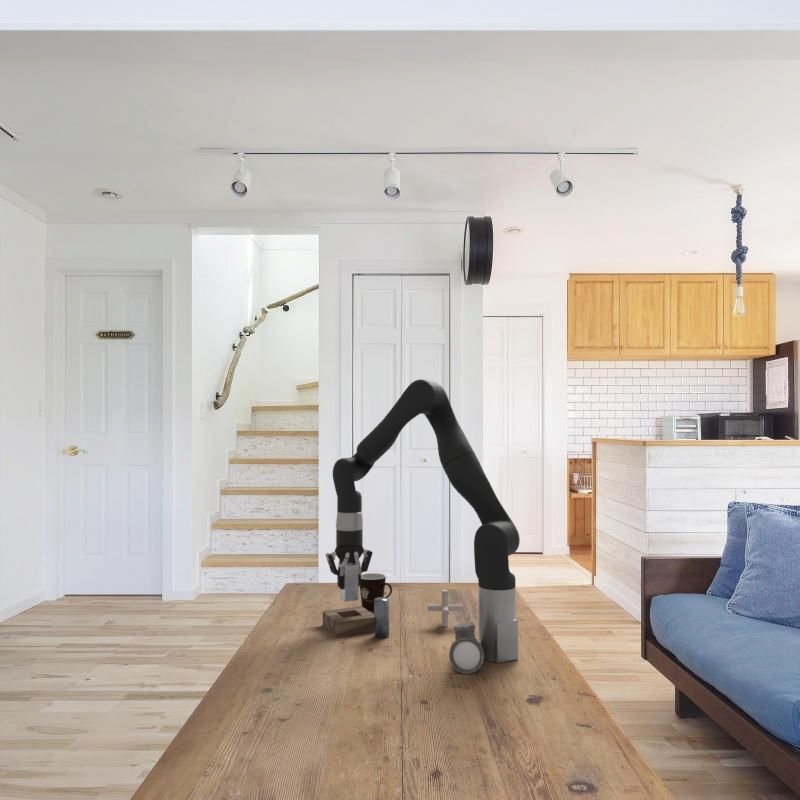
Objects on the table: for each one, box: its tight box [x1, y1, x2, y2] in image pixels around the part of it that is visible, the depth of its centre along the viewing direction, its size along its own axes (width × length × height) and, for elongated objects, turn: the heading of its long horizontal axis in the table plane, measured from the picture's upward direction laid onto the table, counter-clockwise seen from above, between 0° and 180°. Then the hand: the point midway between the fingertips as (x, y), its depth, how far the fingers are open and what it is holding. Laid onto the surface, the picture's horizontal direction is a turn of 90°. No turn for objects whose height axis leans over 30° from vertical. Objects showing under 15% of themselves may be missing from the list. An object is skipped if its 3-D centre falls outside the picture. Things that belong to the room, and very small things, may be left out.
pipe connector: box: [427, 589, 464, 628], centre depth 186 cm, size 10×10×10 cm
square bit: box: [339, 563, 359, 603], centre depth 185 cm, size 4×4×10 cm
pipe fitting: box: [448, 622, 485, 675], centre depth 156 cm, size 12×8×10 cm
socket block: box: [322, 605, 375, 638], centre depth 185 cm, size 12×12×4 cm
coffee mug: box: [359, 572, 393, 612], centre depth 203 cm, size 12×9×10 cm
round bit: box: [373, 596, 390, 640], centre depth 178 cm, size 4×4×10 cm
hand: (349, 587), depth 185 cm, fingers closed on square bit, 4 cm apart
